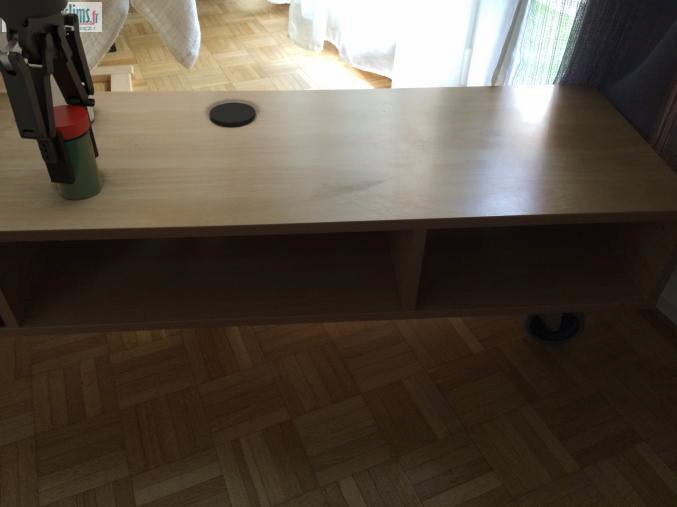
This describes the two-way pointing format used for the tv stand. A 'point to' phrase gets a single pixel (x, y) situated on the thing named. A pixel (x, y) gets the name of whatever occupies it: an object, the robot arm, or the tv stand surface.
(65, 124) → the jar lid
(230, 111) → the coaster
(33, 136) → the robot arm
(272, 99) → the tv stand surface
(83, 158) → the jar
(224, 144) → the tv stand surface
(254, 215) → the tv stand surface
